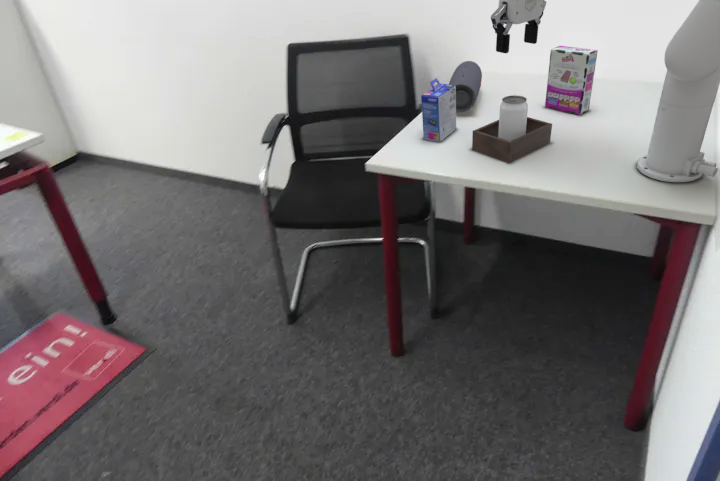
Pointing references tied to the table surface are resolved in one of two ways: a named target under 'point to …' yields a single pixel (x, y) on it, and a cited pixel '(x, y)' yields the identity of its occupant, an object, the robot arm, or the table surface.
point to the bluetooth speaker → (466, 85)
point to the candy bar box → (570, 79)
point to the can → (512, 117)
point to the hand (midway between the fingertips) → (516, 47)
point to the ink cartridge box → (439, 111)
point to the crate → (512, 150)
